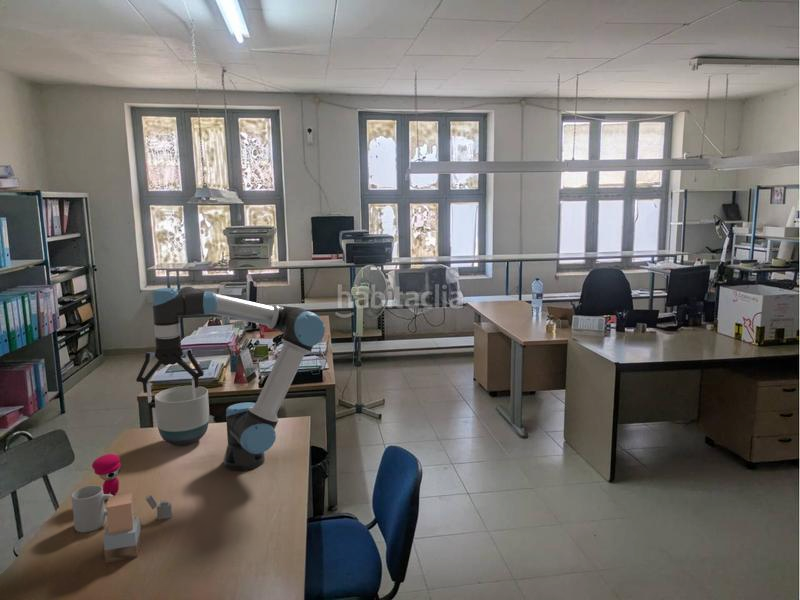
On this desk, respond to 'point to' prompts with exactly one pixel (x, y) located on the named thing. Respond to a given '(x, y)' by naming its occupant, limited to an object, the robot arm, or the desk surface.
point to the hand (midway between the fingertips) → (172, 399)
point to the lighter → (160, 508)
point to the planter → (182, 414)
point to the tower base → (123, 552)
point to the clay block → (120, 513)
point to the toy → (108, 472)
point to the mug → (89, 508)
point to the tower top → (122, 537)
